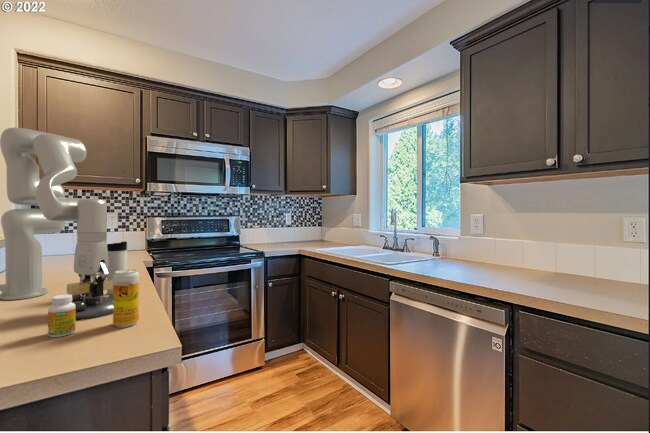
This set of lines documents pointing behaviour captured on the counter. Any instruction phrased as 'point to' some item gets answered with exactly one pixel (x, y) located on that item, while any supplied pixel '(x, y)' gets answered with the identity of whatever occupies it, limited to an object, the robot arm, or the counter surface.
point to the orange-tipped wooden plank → (88, 290)
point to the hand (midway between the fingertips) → (92, 294)
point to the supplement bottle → (61, 316)
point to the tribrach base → (92, 307)
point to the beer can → (125, 298)
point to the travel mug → (116, 260)
